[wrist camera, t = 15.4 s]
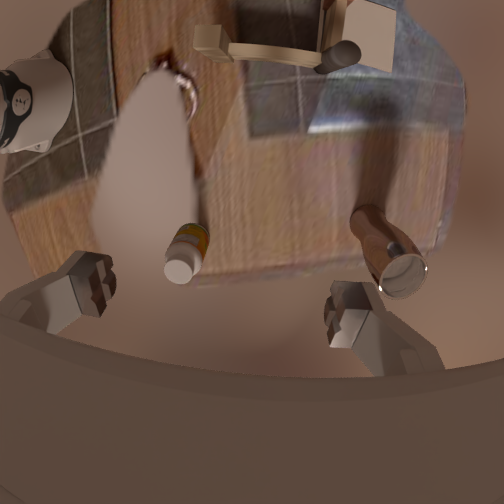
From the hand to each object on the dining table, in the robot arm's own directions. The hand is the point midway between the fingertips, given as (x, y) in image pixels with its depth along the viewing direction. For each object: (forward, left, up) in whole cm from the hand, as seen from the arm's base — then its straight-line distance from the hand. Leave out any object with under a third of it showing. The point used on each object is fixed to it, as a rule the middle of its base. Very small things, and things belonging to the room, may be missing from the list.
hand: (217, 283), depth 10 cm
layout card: (+13, +19, -31) cm, 39 cm away
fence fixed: (+2, +12, -31) cm, 34 cm away
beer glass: (+19, -10, -31) cm, 38 cm away
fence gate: (+8, +18, -31) cm, 37 cm away
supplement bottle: (-8, -16, -31) cm, 36 cm away
